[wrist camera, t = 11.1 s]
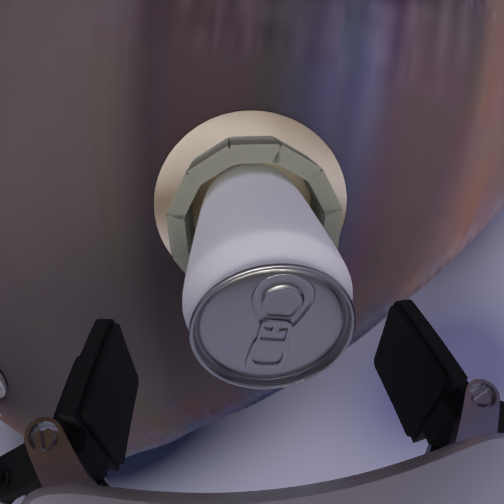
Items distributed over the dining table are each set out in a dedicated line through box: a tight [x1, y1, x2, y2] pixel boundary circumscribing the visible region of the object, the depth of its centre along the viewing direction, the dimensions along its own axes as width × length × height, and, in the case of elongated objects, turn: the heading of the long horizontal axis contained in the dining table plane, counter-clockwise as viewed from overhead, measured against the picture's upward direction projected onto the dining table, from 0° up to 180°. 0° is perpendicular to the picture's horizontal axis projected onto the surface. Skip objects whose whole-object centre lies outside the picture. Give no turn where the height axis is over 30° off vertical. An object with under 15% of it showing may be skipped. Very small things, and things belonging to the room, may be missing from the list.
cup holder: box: [154, 110, 347, 274], centre depth 20 cm, size 13×13×4 cm
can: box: [182, 163, 356, 389], centre depth 15 cm, size 6×6×12 cm
